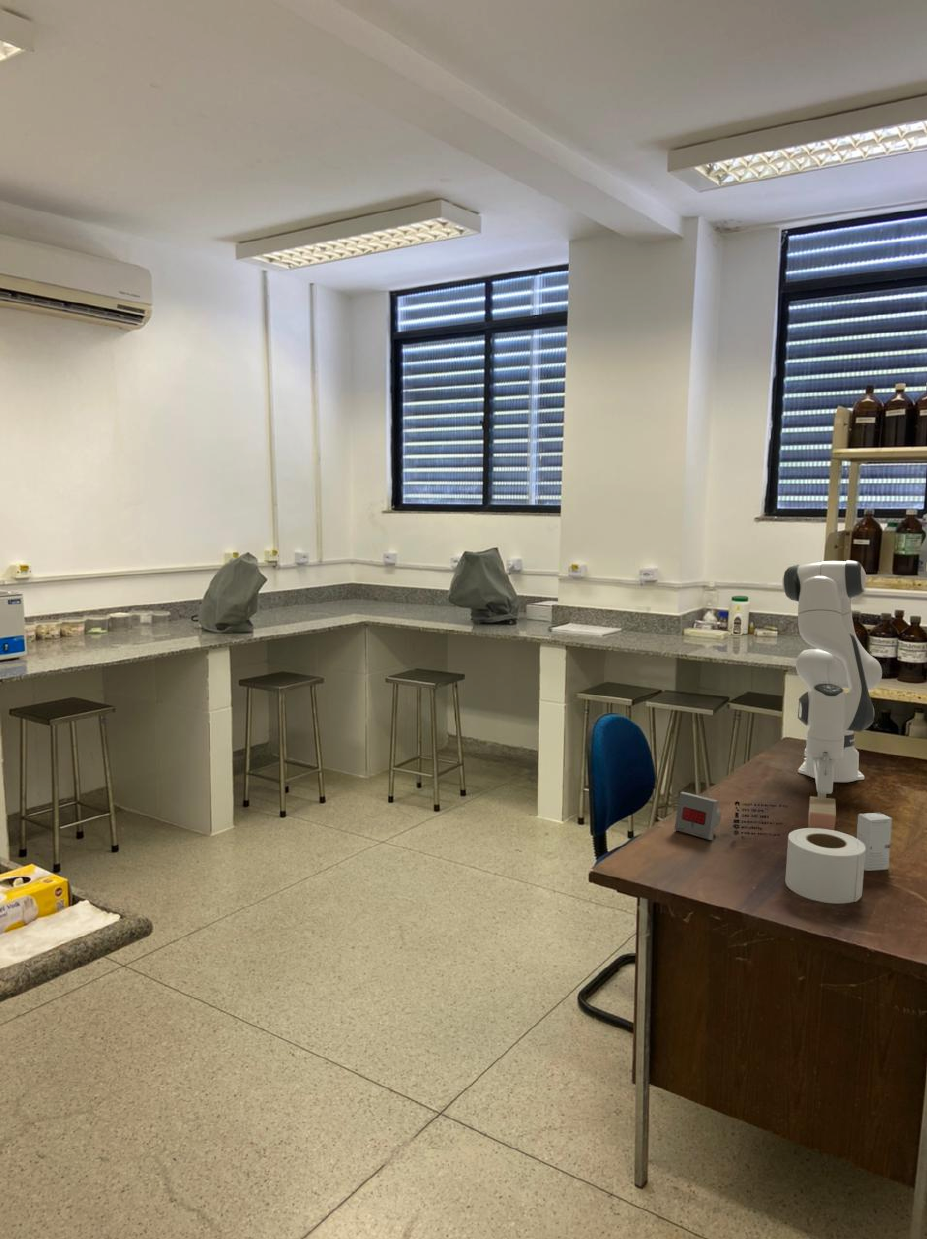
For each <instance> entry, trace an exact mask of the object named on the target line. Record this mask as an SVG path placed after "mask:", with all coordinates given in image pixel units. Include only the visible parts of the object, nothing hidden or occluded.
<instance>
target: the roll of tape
mask: <svg viewBox="0 0 927 1239" xmlns="http://www.w3.org/2000/svg"><path fill="white" fill-rule="evenodd" d="M865 850H866V847H865V845H864V844H863V843H862V842H861V841H860V840H858V839H857V837H855V836H854V835H850V834H847V833H845V832H842V831H838V830H835V829H834V830H828V829H820V828H809V827H806V828H805V827H804V828H799V829H794V830H792V831H791V832H789V833H788V837H787V851H786V867H785V876H784V877H785V878H784V881H785V885H786V886H787V888H788V889H790V890H791V891H792V892H794V893H795V894H797V895H798V896H801V897H803V898H805V899H808V900H812V901H816V902H820V903H827V904H850V903H853V902H854V903H856V902H858V901H859V900H860V899H861V898H862V895H863V885H864V872H865V870H864V863H865Z"/></svg>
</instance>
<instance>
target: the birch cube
mask: <svg viewBox="0 0 927 1239" xmlns="http://www.w3.org/2000/svg"><path fill="white" fill-rule="evenodd" d="M808 805H809V806H808V828H820V829H828V830H834V831H835V826H836V821H837V820H836V818H837V812H836V811H837V809H836V798H830V797H826V798H822V797H818V796H811V795H810V796H809V804H808Z"/></svg>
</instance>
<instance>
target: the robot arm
mask: <svg viewBox="0 0 927 1239" xmlns="http://www.w3.org/2000/svg"><path fill="white" fill-rule="evenodd" d="M782 577H783V578H782V589H783V592H784V593H785V596H786V597H787V598H788V599H789V600H791V601H795V602H798V607H797V624H798V626H797V627H798V633H799V635H800V637H801V638H802V639H803V640H804V641H805V642H806V643H807V644H808V645H810V646H812V647H813V648H810V649H803V650H802V651H801V652H800V653H799V655H798V656H797V658H796V661H795V672H796V673H797V676H798V677H799V678H800V679H801V680H802V681H803V682H804V683H805V685H806V686H807V688H808V690H809V691H806V692H804V693H803V694H802V695H801V696H800V697H799V698H798V711H797V719H798V720H799V721H800V722H801V723H802V724H803V725H805V726H808V730H807V733H806V746H805V747H806V748H805V749H804V752H803V753H804V757H805V758H804V760H803V763H801V765H800V766H799V768H798V769H797V770H798V771H797V773H799V774H802V775H805V776H808V777H810V778H813V779H814V780H815V785H816V786H815V787H816V788H815V789H816V792H817V797H822V798H827V794H829V795H830V794H832V793H833V789H834V783H850V782H855V781H863V780H865V775H864V774H863V773H862V772H861V771H860V770H859V765H860V764H859V760H860V758H859V757H860V753H859V751H858V750H857V749H856V748H855V746H854V745H855V741H856V736H855V733H854V732H857V733H858V732H859V733H861V732H863V731H865V730H866V729H868V728H869V727H870V726H871V725H873V723H874V718H875V708H874V705H873V702H872V698H871V695H870V693H869V691H872V690H874V689H875V688H877V686H878V685H879V684H880V683H881V681H882V677H883V670H882V665H881V664H880V662H879V661H878V659H876V658H875V657H873V656H872V655H871V654H869V653H868V651H867V650H866V649H865V647H863V645H862V644H861V642H860V640H859V639H858V637H857V635H856V631H855V625H854V621H853V613H852V603H851V599H850V598H855V597H857V596H860V595H861V594H862V593H863V592H864V590H865V587H866V584H867V574H866V571H865V569H864V567H863V565H862V564H861V563H860V562H859V561H858V560H857V561H856V560H851V559H850V560H848V559H846V561H845V560H844V561H843V560H825V561H824V560H823V561H819V562H818V561H817V562H811V563H806V564H805V563H804V564H801V565H799V564H796V565H795V564H794V565H792V566H788V567H787V568H786V569H785V571H784V573H783V576H782ZM845 689H846V690H849V692H845V691H844V690H845Z"/></svg>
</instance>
